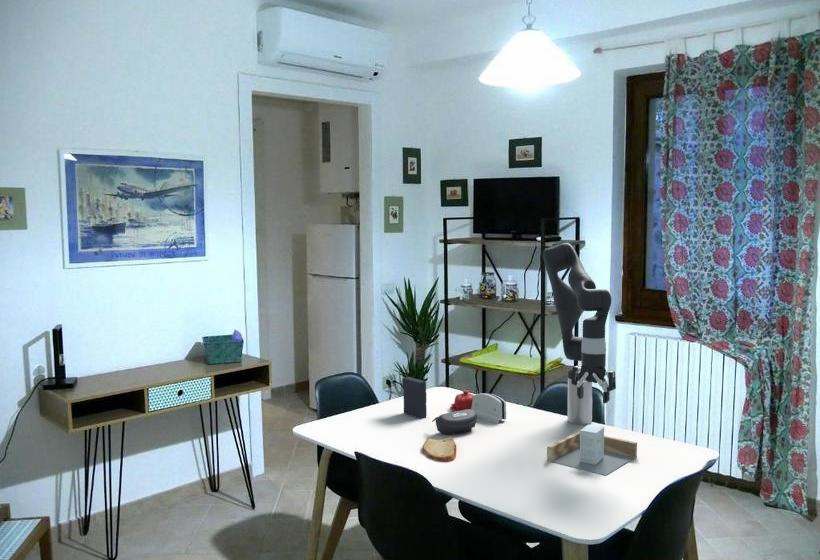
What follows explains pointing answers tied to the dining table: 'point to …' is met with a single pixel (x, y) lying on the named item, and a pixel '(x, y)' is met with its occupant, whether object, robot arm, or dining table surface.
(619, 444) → the corner walls
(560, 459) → the mat
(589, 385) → the robot arm
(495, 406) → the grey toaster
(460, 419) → the glasses case
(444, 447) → the slice of bread
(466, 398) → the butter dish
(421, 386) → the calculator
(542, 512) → the dining table surface
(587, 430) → the small box
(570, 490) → the dining table surface
